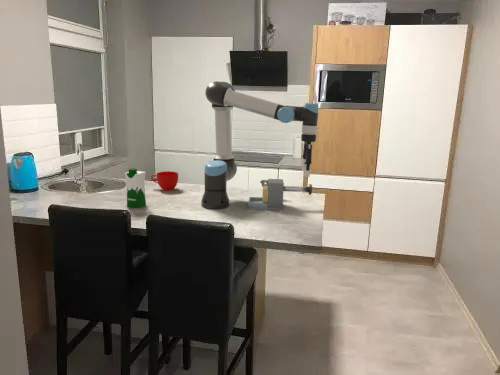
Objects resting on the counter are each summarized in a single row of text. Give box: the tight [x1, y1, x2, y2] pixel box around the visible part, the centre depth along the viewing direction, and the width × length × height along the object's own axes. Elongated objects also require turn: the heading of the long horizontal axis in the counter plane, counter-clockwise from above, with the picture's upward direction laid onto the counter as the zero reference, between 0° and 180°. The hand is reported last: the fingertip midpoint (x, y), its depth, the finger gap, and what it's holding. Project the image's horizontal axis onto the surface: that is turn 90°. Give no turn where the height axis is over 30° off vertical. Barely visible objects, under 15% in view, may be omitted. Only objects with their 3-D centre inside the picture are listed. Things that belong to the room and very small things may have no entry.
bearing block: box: [266, 178, 285, 211], centre depth 215 cm, size 8×14×14 cm, turn 178°
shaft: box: [283, 183, 313, 196], centre depth 214 cm, size 21×6×6 cm, turn 88°
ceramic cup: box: [150, 171, 179, 191], centre depth 245 cm, size 13×17×10 cm
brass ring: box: [261, 186, 268, 204], centre depth 215 cm, size 2×9×9 cm, turn 178°
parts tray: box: [248, 196, 268, 210], centre depth 217 cm, size 10×13×3 cm
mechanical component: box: [260, 179, 268, 188], centre depth 233 cm, size 3×10×10 cm, turn 78°
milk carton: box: [124, 167, 147, 209], centre depth 208 cm, size 9×9×20 cm
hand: (305, 173), depth 212 cm, fingers open, 13 cm apart
